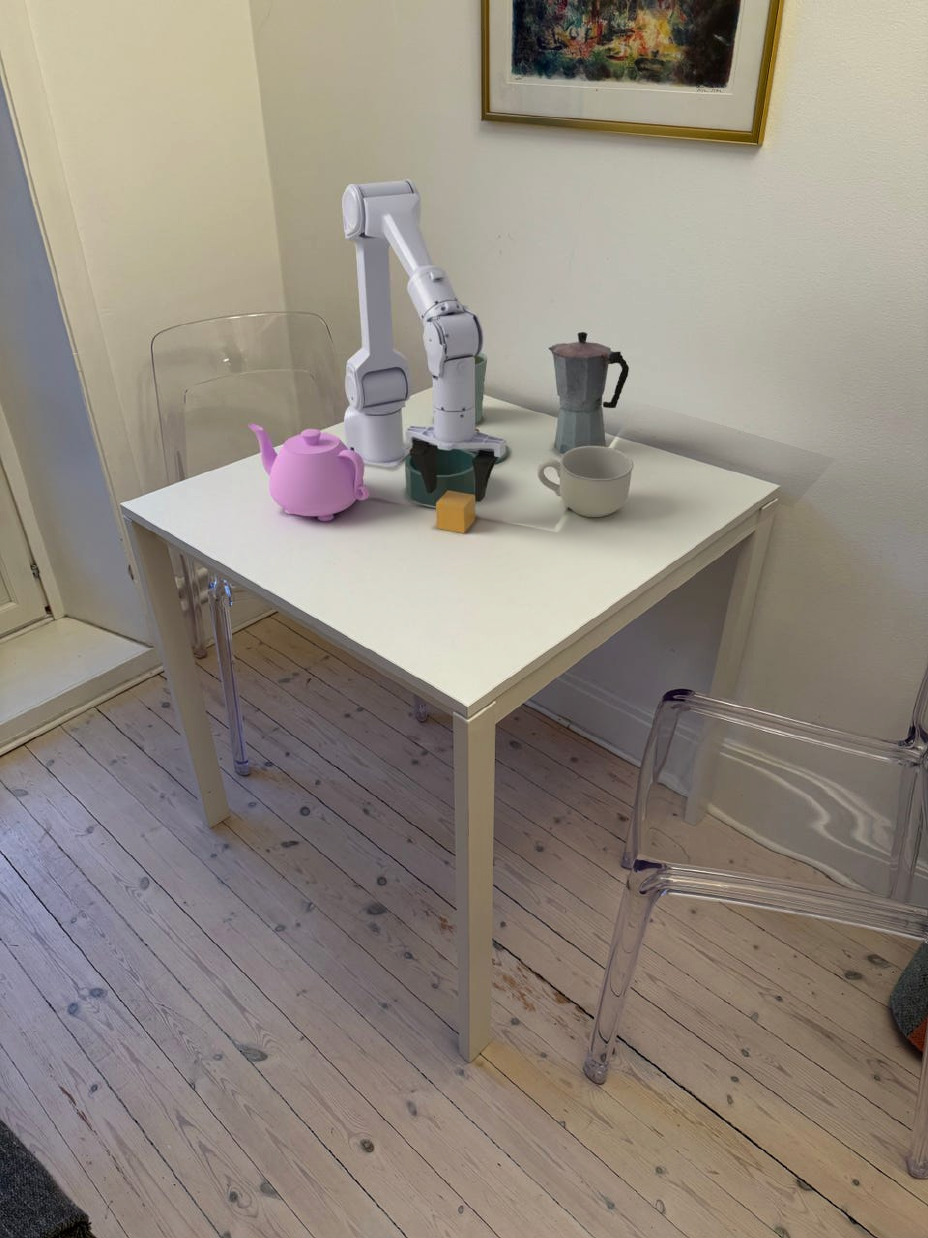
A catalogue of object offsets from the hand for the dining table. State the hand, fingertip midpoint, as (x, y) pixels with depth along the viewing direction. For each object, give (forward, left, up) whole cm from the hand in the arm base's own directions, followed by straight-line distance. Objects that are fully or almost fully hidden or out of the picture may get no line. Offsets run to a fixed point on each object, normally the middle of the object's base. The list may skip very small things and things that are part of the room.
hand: (455, 494), depth 129 cm
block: (0, 0, -5) cm, 5 cm away
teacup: (+16, +12, -5) cm, 21 cm away
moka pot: (+10, +33, -5) cm, 35 cm away
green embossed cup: (-15, +38, -5) cm, 41 cm away
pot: (-6, +9, -5) cm, 12 cm away
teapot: (-23, -2, -5) cm, 24 cm away
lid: (-7, +24, -4) cm, 25 cm away
